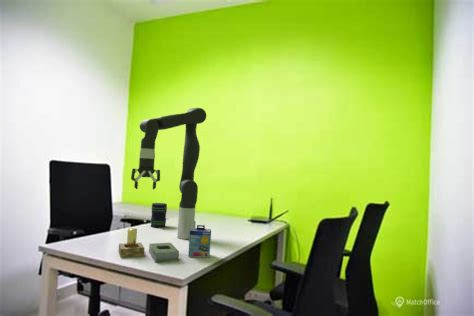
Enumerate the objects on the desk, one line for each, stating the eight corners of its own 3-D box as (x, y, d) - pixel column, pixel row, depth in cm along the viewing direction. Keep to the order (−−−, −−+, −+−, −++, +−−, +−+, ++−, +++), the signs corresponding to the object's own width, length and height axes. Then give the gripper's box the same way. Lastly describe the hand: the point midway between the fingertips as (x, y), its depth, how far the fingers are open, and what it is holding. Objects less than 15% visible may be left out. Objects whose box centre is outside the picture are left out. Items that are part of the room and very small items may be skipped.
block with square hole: (170, 250, 151) (170, 242, 151) (178, 260, 137) (179, 251, 137) (148, 252, 147) (149, 243, 147) (155, 262, 133) (155, 252, 133)
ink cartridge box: (187, 257, 143) (189, 225, 143) (188, 253, 148) (190, 223, 149) (209, 257, 144) (211, 226, 144) (209, 254, 149) (211, 223, 150)
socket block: (140, 249, 150) (141, 242, 150) (143, 255, 141) (144, 247, 141) (118, 251, 146) (118, 243, 146) (120, 257, 137) (120, 249, 137)
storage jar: (147, 226, 208) (148, 203, 208) (159, 224, 215) (161, 202, 216) (156, 228, 201) (157, 205, 202) (168, 226, 209) (170, 204, 209)
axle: (135, 249, 146) (136, 228, 147) (136, 252, 143) (137, 229, 143) (126, 250, 145) (127, 228, 145) (126, 252, 141) (128, 230, 141)
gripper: (159, 158, 169) (157, 188, 168) (131, 156, 163) (129, 188, 162) (162, 158, 162) (160, 190, 162) (133, 156, 156) (131, 189, 156)
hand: (145, 189), depth 162 cm, fingers open, 8 cm apart
